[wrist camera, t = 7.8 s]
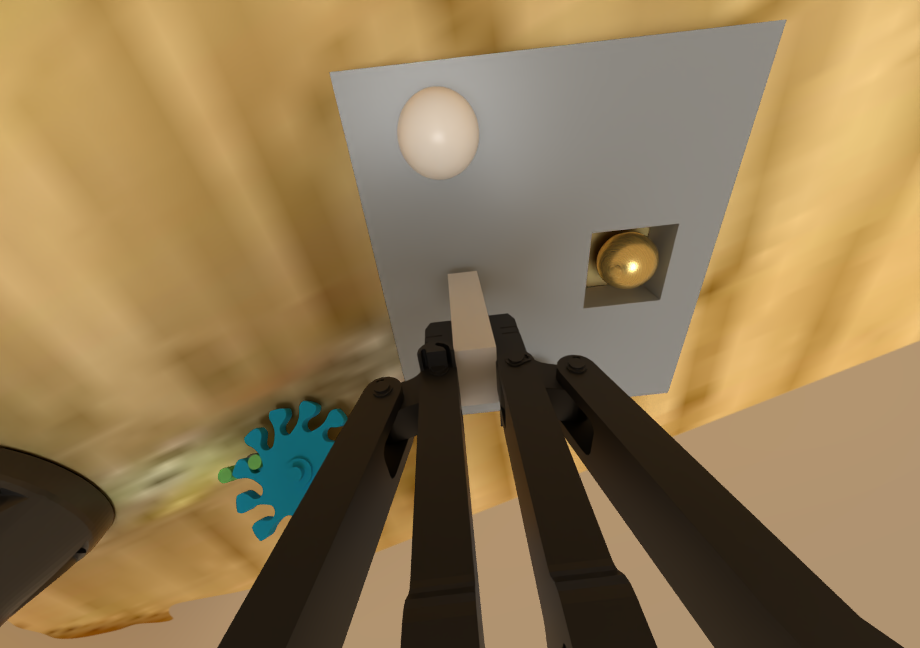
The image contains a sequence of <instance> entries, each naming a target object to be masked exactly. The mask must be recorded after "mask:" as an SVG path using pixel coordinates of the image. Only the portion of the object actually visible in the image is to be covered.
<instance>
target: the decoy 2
mask: <svg viewBox="0 0 920 648" xmlns="http://www.w3.org/2000/svg"><path fill="white" fill-rule="evenodd" d="M397 137H398V143H399V147H400V150H401V153H402V155H403V157H404V159H405V160H406V162H407V163H408V164H409V166H410V167H411V168H412V169H413V170H414V171H416V172H417V173H419V174H420V175H422V176H424V177H427V178H430V179H435V180H444V179H449V178H452V177H454V176H456V175H458V174H460V173H461V172H463V171H464V170H465V169H466V168H467V167H468V166H469V164H470V163H471V161H472V160H473V158H474V156H475V154H476V151H477V147H478V142H479V127H478V122H477V118H476V116H475V113H474V111H473V109H472V107H471V106H470V104H469V103H468V102H467V101H466V99H465V98H464V97H462V96H461V95H460V94H459V93H457V92H456V91H454V90H451V89H449V88H445V87H439V86H437V87H428V88H425V89H422V90H420V91H419V92H417V93H416V94H414V95H413V96H412V97H411V98H410V99H409V100H408V101H407V103H406V104H405V105H404V107H403V109H402V111H401V114H400V116H399V120H398V126H397Z"/></svg>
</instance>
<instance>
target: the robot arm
mask: <svg viewBox="0 0 920 648" xmlns="http://www.w3.org/2000/svg"><path fill="white" fill-rule="evenodd" d="M448 285H449V298H450V310H451V321H442V322H433V323H430V324H429V325H428V326H427V328H426V329H425V344H424V345H422V346H421V347H420V348H419V349H418V352H417V357H418V362H419V366H420V371H421V372H420V373H419V374H418V375H417V376H415V377H414V378H412V379H410V380H407V381H404V382H402V383H400V381H399V380H397V379H396V378H393V377H382V378H379V379H376V380H374V381H372V382H371V383H369V384H368V386H367V387H366V388H365V389H364V391H363V393H362V395H361V396H360V398H359V400H358V402H357V404H356V405H355V407H354V409H353V411H352V412H351V414H350V416H349V418H348V419H347V421H346V423H345V425H344V426H343V428H342V430H341V432H340V433H339V435H338V437H337V439H336V440H335V442H334V444H333V446H332V447H331V449H330V451H329V453H328V454H327V456H326V458H325V460H324V461H323V463H322V465H321V467H320V468H319V470H318V472H317V474H316V475H315V477H314V479H313V481H312V483H311V484H310V486H309V488H308V490H307V491H306V493H305V495H304V497H303V498H302V500H301V502H300V504H299V505H298V507H297V509H296V511H295V512H294V514H293V516H292V518H291V519H290V521H289V523H288V525H287V526H286V528H285V530H284V532H283V533H282V535H281V537H280V539H279V540H278V542H277V544H276V546H275V547H274V549H273V551H272V553H271V554H270V556H269V558H268V560H267V562H266V563H265V565H264V567H263V569H262V570H261V572H260V574H259V576H258V577H257V579H256V581H255V583H254V584H253V586H252V588H251V590H250V591H249V593H248V595H247V597H246V598H245V600H244V602H243V604H242V605H241V607H240V609H239V611H238V612H237V614H236V616H235V618H234V620H233V621H232V623H231V625H230V627H229V628H228V630H227V632H226V634H225V635H224V637H223V639H222V641H221V643H220V644H219V646H218V648H342V646H343V643H344V641H345V637H346V635H347V632H348V629H349V626H350V623H351V620H352V617H353V614H354V611H355V609H356V606H357V603H358V600H359V597H360V594H361V591H362V588H363V585H364V582H365V580H366V577H367V574H368V571H369V568H370V565H371V562H372V559H373V556H374V553H375V551H376V548H377V545H378V542H379V539H380V536H381V533H382V530H383V527H384V524H385V521H386V519H387V516H388V513H389V510H390V507H391V504H392V501H393V498H394V495H395V492H396V490H397V487H398V484H399V481H400V478H401V475H402V472H403V469H404V466H405V463H406V461H407V458H408V455H409V452H410V449H411V446H412V443H413V439H414V436H416V435H417V454H416V475H415V495H414V515H413V536H412V559H411V577H410V578H411V579H410V590H409V594H408V596H407V598H406V600H405V604H404V610H403V620H402V635H401V648H485V644H484V635H483V625H482V615H481V604H480V594H479V583H478V572H477V562H476V551H475V541H474V530H473V519H472V509H471V498H470V487H469V477H468V466H467V456H466V445H465V434H464V424H463V414H462V406H471V405H480V404H489V403H497V402H499V401H500V417H501V426H503V428H504V433H505V437H506V442H507V447H508V452H509V456H510V461H511V466H512V471H513V475H514V480H515V485H516V490H517V495H518V499H519V504H520V508H521V513H522V518H523V523H524V528H525V532H526V537H527V542H528V547H529V552H530V556H531V561H532V566H533V571H534V576H535V580H536V585H537V589H538V595H539V599H540V604H541V609H542V614H543V618H544V624H545V631H546V640H547V647H548V648H657V645H656V643H655V640H654V638H653V636H652V633H651V631H650V628H649V626H648V623H647V621H646V618H645V616H644V614H643V611H642V609H641V606H640V604H639V601H638V599H637V596H636V594H635V592H634V590H633V588H632V586H631V584H630V582H629V580H628V579H627V578H626V576H625V575H624V574H623V573H622V572H620V571H619V570H617V568H616V567H615V565H614V563H613V561H612V558H611V556H610V553H609V551H608V548H607V545H606V543H605V540H604V538H603V535H602V533H601V530H600V527H599V525H598V522H597V520H596V517H595V515H594V512H593V509H592V507H591V504H590V502H589V499H588V497H587V494H586V491H585V489H584V486H583V484H582V481H581V478H580V476H579V473H578V471H577V468H576V465H575V463H574V460H573V458H572V455H571V453H570V450H569V447H568V445H567V442H566V440H567V441H568V442H569V444H570V445H571V447H572V448H573V449H574V451H575V452H576V454H577V455H578V456H579V458H580V459H581V461H582V462H583V463H584V465H585V466H586V468H587V469H588V471H589V472H590V473H591V475H592V476H593V477H594V479H595V480H596V482H597V483H598V485H599V486H600V487H601V489H602V490H603V492H604V493H605V494H606V496H607V497H608V498H609V500H610V501H611V503H612V504H613V506H614V507H615V508H616V510H617V511H618V513H619V514H620V515H621V517H622V518H623V520H624V521H625V523H626V524H627V525H628V527H629V528H630V529H631V531H632V532H633V534H634V535H635V537H636V538H637V539H638V541H639V542H640V544H641V545H642V546H643V548H644V549H645V551H646V552H647V553H648V555H649V556H650V558H651V559H652V560H653V562H654V563H655V565H656V566H657V568H658V569H659V570H660V572H661V573H662V574H663V576H664V577H665V578H666V580H667V582H668V583H669V584H670V586H671V587H672V588H673V590H674V591H675V593H676V594H677V595H678V597H679V598H680V600H681V601H682V603H683V604H684V605H685V607H686V608H687V610H688V611H689V612H690V614H691V615H692V617H693V618H694V619H695V621H696V622H697V624H698V625H699V627H700V628H701V629H702V631H703V632H704V634H705V635H706V636H707V638H708V639H709V641H710V642H711V643H712V645H713V646H714V648H904V647H902V646H901V645H899V644H898V643H897V642H895V641H894V640H892V639H891V638H889V637H888V636H886V635H885V634H884V633H882V632H881V631H879V630H878V629H876V628H875V627H873V626H872V625H871V624H869V623H868V622H866V621H865V620H863V619H862V618H860V617H859V616H858V615H857V614H856V613H855V612H854V611H853V610H852V609H851V608H850V607H849V606H848V605H847V604H846V603H845V602H844V601H843V600H842V599H841V598H840V597H839V596H837V595H836V594H835V593H834V592H833V591H832V590H831V589H830V588H829V587H828V586H827V585H826V584H825V583H824V582H822V580H821V579H820V578H819V577H818V576H817V575H815V574H814V573H813V572H812V571H811V570H810V569H809V568H808V567H807V566H806V565H805V564H804V563H803V562H802V561H801V560H800V559H799V558H797V556H796V555H795V554H793V553H792V552H791V551H790V550H789V549H788V548H787V547H786V546H785V545H784V544H783V543H782V542H781V541H780V540H779V539H778V538H777V537H776V536H775V535H774V534H773V533H772V532H770V530H768V529H767V528H766V527H765V526H764V525H763V524H762V523H761V522H760V521H759V520H758V519H757V518H756V517H755V516H754V515H753V514H752V513H751V512H750V511H749V510H747V509H746V508H745V507H744V506H743V505H742V504H741V503H740V502H739V501H738V500H737V499H736V498H735V497H734V496H733V495H732V494H731V493H729V491H728V490H727V489H725V488H724V487H723V486H722V485H721V484H720V483H719V482H718V481H717V480H716V479H715V478H714V477H713V476H712V475H711V474H710V473H709V472H708V471H707V470H706V469H705V468H704V467H702V465H700V464H699V463H698V462H697V461H696V460H695V459H694V458H693V457H692V456H691V455H690V454H689V453H688V452H687V451H686V450H685V449H684V448H683V447H682V446H681V445H680V444H679V443H677V442H676V441H675V440H674V439H673V438H672V437H671V436H670V435H669V434H668V433H667V432H666V431H665V430H664V429H663V428H662V427H661V426H660V425H659V424H658V423H657V422H656V421H654V420H653V419H652V418H651V417H650V416H649V415H648V414H647V413H646V412H645V411H644V410H643V409H642V408H641V407H640V406H639V405H638V404H637V403H636V402H635V401H634V400H633V399H631V398H630V397H629V396H628V395H627V394H626V393H625V392H624V391H623V390H622V389H621V388H620V387H619V386H618V385H617V384H616V383H615V382H614V381H613V380H612V379H611V378H610V377H608V376H607V375H606V374H605V373H604V372H603V371H602V370H601V369H600V368H599V367H598V366H597V365H596V364H595V363H594V362H593V361H591V360H590V359H588V358H586V357H583V356H581V355H567V356H564V357H562V358H560V359H559V361H558V362H557V364H547V363H542V362H539V361H536V360H534V358H533V356H532V355H531V354H530V353H528V352H527V350H526V348H525V345H524V342H523V340H522V337H521V334H520V333H519V329H518V327H517V324H516V321H515V319H514V318H513V317H512V316H511V315H509V314H508V313H505V314H497V315H488V313H487V309H486V305H485V301H484V297H483V293H482V289H481V285H480V281H479V278H478V274H477V271H471V272H462V273H453V274H448ZM498 396H499V397H498ZM565 438H566V440H565ZM113 520H114V512H113V509H112V506H111V504H110V503H109V501H108V500H107V499H106V497H105V496H104V495H103V494H102V493H101V492H100V491H99V490H97V489H96V488H95V487H94V486H92V485H91V484H90V483H88V482H87V481H85V480H84V479H82V478H80V477H79V476H77V475H75V474H73V473H72V472H70V471H68V470H66V469H64V468H61V467H59V466H57V465H55V464H52V463H50V462H47V461H45V460H42V459H39V458H36V457H33V456H30V455H27V454H23V453H20V452H16V451H12V450H8V449H3V448H0V627H1V625H2V624H4V623H5V622H6V621H7V620H8V619H9V618H10V617H11V616H12V615H14V614H15V613H16V612H17V611H18V610H20V609H21V608H22V607H23V606H25V605H26V604H27V603H28V602H29V601H31V600H32V599H33V598H34V597H35V596H37V595H38V594H39V593H40V592H42V591H43V590H44V589H45V588H46V587H48V586H49V585H50V584H51V583H52V582H54V581H55V580H56V579H57V578H59V577H60V576H61V575H62V574H63V573H64V572H66V571H67V570H68V569H69V568H70V567H71V566H73V565H74V564H75V563H76V562H77V561H79V560H80V559H82V558H83V557H84V556H85V555H87V554H88V553H89V552H90V551H91V550H92V549H93V548H94V547H95V545H96V544H97V543H98V541H99V540H100V539H101V538H102V536H103V535H104V534H105V533H106V531H107V530H108V529H109V527H110V526H111V525H112V523H113Z"/></svg>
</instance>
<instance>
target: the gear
mask: <svg viewBox="0 0 920 648" xmlns="http://www.w3.org/2000/svg"><path fill="white" fill-rule="evenodd" d="M320 411H321V405H320V404H318V403H316V402H312V401H303V402H301V404H300V406H299V419H298V422H297V425H296V426H295V428H294V429H293V431H292V432H291V433H290V434H289V433H288V432H287V431H286V425H287V423H288V422H289V420H290V419H291V417H292V411H291V409H290V408H283V409H276V410H273V411H270V413H269V419H270V421H271V423H272V424H273V427H274V431H275V438H274V444H273V447H272V448H269V447H268V445H267V440H268V431H267V430H266V429H265V428H264V427H261V428H256V429H253V430H252V431H251V432H249V433H248V434H247V435H246V437H245V438H244V440H245V443H246V444H247V445H248V446H251V447H252V448H254V449H255V450H256V451H257V452H258V453H254V454H251V455H249V456H248V457H247V458H243V459H240V460H238V461H237V463H236V465H234V466H230V467H227V468H223V469H221V470H220V472H219V473H218V480H219V481H220V482H221V483H227V482H230V481H233V480H236V479H240V478H250V479H253V480H254V481H256V482H257V483H259V484H260V485H261V486H262V488H263V494H262V496H260V495H259V494H258V493H256V492H255V491H253V490H249V491H246V492H244V493H241V494H239V495H237V499H236V506H237V512H238V513H244V512H247V511H249V510H251V509H253V508H254V507H255V506H257V505H260V504H267V505H272V506H273V507H274V509H275V515H274V517H273V516H267V517H264V518H262V519H260V520H259V521H257V522H255V523H254V525H253V527H252V529H253V531H254V534H255V535H256V536H257V538H258V539H259V540H260V541H262V540H264V539H266V538H267V537H269V536H270V535H272V534H273V533H274V532H275V530H276V527H277V525H278V524H279V522H280V521H281V520H282V519H283V518H284V517H285V516H288V515H291V516H293V514H294V512H295V511H296V509H297V507H298V505H299V504H300V502H301V500H302V498H303V497H304V495H305V493H306V491H307V490H308V488H309V486H310V484H311V483H312V481H313V479H314V477H315V475H316V474H317V472H318V470H319V468H320V467H321V465H322V463H323V461H324V460H325V458H326V456H327V454H328V453H329V451H330V449H331V447H332V446H333V444H334V442H335V441H333V440H330V439H329V438H328V435H327V432H328V430H329V429H330V428H331V427H341V426H344V425H345V423H346V421H347V419H348V418H347V416H346V414H345V413H344V412H343V411H342V410H341V409H334V410H332V411H330V413H329V414H328V416H327V419H326V420H325V422H324V423H323V424H322V425H321V426H320V427H319V428H317V429H315V430H314V431H311V430H309V428H308V422H309V420H310V419H311V418H313V417H315V416H316V415H318V414H319V413H320Z"/></svg>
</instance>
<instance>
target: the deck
mask: <svg viewBox="0 0 920 648" xmlns="http://www.w3.org/2000/svg"><path fill="white" fill-rule="evenodd" d="M785 23H786V20H779V21H770V22H761V23H753V24H744V25H735V26H727V27H718V28H709V29H701V30H692V31H683V32H675V33H666V34H657V35H649V36H640V37H632V38H623V39H614V40H606V41H597V42H588V43H580V44H571V45H562V46H554V47H545V48H536V49H528V50H519V51H510V52H502V53H493V54H484V55H476V56H467V57H458V58H450V59H441V60H432V61H424V62H415V63H406V64H398V65H389V66H380V67H372V68H363V69H354V70H346V71H337V72H329V73H330V77H331V81H332V85H333V89H334V93H335V97H336V101H337V105H338V110H339V114H340V118H341V122H342V126H343V130H344V134H345V138H346V142H347V146H348V150H349V154H350V159H351V163H352V167H353V171H354V175H355V179H356V183H357V187H358V191H359V195H360V199H361V204H362V208H363V212H364V216H365V220H366V224H367V228H368V232H369V236H370V240H371V244H372V249H373V253H374V257H375V261H376V265H377V269H378V273H379V277H380V281H381V285H382V289H383V294H384V298H385V302H386V306H387V310H388V314H389V318H390V322H391V326H392V330H393V334H394V338H395V343H396V347H397V351H398V355H399V359H400V363H401V367H402V371H403V375H404V379H405V381H407V380H410V379H412V378H414V377H415V376H417V375H418V374H419V373H420V372H421V371H420V366H419V362H418V357H417V352H418V349H419V348H420V347H421V346H422V345H424V344H425V329H426V328H427V326H428V325H429V324H430V323H433V322H442V321H451V310H450V298H449V285H448V274H453V273H462V272H471V271H477V274H478V278H479V281H480V285H481V289H482V293H483V297H484V301H485V305H486V309H487V313H488V315H497V314H505V313H508V314H509V315H511V316H512V317H513V318H514V319H515V321H516V324H517V327H518V329H519V333H520V334H521V337H522V340H523V342H524V345H525V348H526V350H527V352H528V353H530V354H531V355H532V356H533V358H534V360H536V361H539V362H542V363H547V364H557V362H558V361H559V359H560V358H562V357H564V356H567V355H581V356H583V357H586V358H588V359H590V360H591V361H593V362H594V363H595V364H596V365H597V366H598V367H599V368H600V369H601V370H602V371H603V372H604V373H605V374H606V375H607V376H608V377H610V378H611V379H612V380H613V381H614V382H615V383H616V384H617V385H618V386H619V387H620V388H621V389H622V390H623V391H624V392H625V393H626V394H627V395H628V396H629V397H632V396H641V395H650V394H660V393H668V391H669V387H670V384H671V381H672V378H673V375H674V372H675V369H676V365H677V362H678V359H679V356H680V353H681V350H682V347H683V343H684V340H685V337H686V334H687V331H688V328H689V325H690V321H691V318H692V315H693V312H694V309H695V306H696V303H697V299H698V296H699V293H700V290H701V287H702V284H703V281H704V277H705V274H706V271H707V268H708V265H709V262H710V259H711V255H712V252H713V249H714V246H715V243H716V240H717V237H718V233H719V230H720V227H721V224H722V221H723V218H724V215H725V211H726V208H727V205H728V202H729V199H730V196H731V193H732V189H733V186H734V183H735V180H736V177H737V174H738V171H739V167H740V164H741V161H742V158H743V155H744V152H745V149H746V145H747V142H748V139H749V136H750V133H751V130H752V127H753V123H754V120H755V117H756V114H757V111H758V108H759V105H760V101H761V98H762V95H763V92H764V89H765V86H766V83H767V79H768V76H769V73H770V70H771V67H772V64H773V61H774V57H775V54H776V51H777V48H778V45H779V42H780V38H781V35H782V32H783V29H784V26H785ZM437 86H439V87H445V88H449V89H451V90H454V91H456V92H457V93H459V94H460V95H461V96H462V97H464V98H465V99H466V101H467V102H468V103H469V104H470V106H471V107H472V109H473V111H474V113H475V116H476V118H477V122H478V127H479V142H478V147H477V151H476V154H475V156H474V158H473V160H472V161H471V163H470V164H469V166H468V167H467V168H466V169H465V170H464V171H463V172H461V173H460V174H458V175H456V176H454V177H452V178H449V179H444V180H435V179H430V178H427V177H424V176H422V175H420V174H419V173H417V172H416V171H414V170H413V169H412V168H411V167H410V166H409V164H408V163H407V162H406V160H405V159H404V157H403V155H402V153H401V150H400V147H399V143H398V137H397V126H398V120H399V116H400V114H401V111H402V109H403V107H404V105H405V104H406V103H407V101H408V100H409V99H410V98H411V97H412V96H413V95H414V94H416V93H417V92H419V91H420V90H422V89H425V88H428V87H437ZM643 227H650V231H649V236H648V238H650V239H651V240H652V241H653V243H654V244H655V245H656V247H657V249H658V253H659V263H658V267H657V269H656V271H655V273H654V275H653V276H652V277H651V278H650V279H649V280H648V281H647V282H646V283H644V284H642V285H640V286H638V287H635V288H631V289H620V288H615V287H613V286H611V285H603V286H594V287H586V280H587V272H588V263H589V254H590V245H591V237H592V233H598V232H607V231H616V230H625V229H634V228H643ZM498 397H499V396H498ZM492 411H500V401H499V402H497V403H489V404H480V405H471V406H462V414H463V415H464V414H474V413H483V412H492Z"/></svg>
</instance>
